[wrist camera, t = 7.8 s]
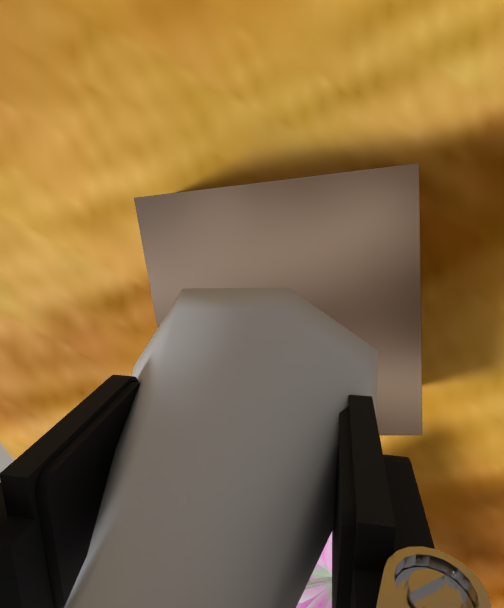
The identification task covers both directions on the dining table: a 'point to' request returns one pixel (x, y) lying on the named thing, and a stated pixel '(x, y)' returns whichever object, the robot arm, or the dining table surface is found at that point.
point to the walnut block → (308, 260)
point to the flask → (226, 455)
